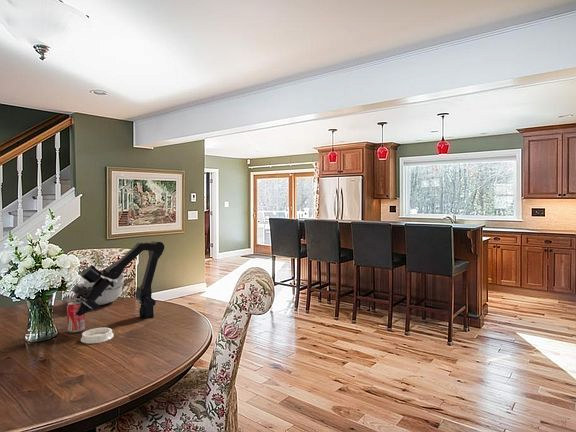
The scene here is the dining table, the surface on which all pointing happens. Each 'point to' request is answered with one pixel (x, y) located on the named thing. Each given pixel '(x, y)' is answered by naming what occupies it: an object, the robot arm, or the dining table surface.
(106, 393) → the dining table surface
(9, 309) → the dining table surface
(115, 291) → the decorative bowl
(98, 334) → the white ring
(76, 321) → the soda can
